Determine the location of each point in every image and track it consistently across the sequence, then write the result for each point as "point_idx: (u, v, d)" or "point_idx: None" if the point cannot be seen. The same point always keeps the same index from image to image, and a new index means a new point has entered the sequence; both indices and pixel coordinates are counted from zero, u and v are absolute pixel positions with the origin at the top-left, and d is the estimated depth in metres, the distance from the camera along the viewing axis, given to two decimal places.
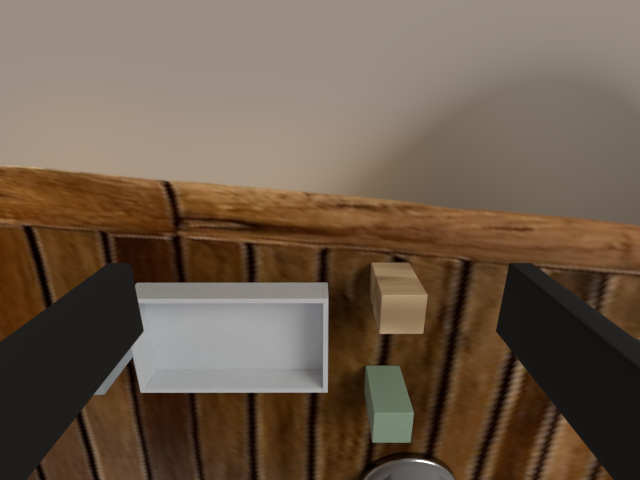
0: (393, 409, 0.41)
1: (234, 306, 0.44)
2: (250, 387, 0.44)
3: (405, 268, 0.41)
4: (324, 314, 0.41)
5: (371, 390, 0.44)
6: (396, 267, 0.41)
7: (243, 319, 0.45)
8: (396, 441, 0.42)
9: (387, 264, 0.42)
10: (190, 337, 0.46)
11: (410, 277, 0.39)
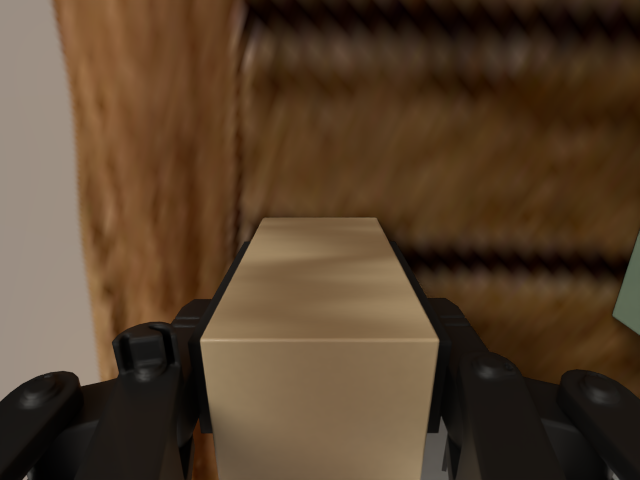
0: None
1: None
2: None
3: None
4: None
5: None
6: None
7: None
8: None
9: None
10: None
11: None
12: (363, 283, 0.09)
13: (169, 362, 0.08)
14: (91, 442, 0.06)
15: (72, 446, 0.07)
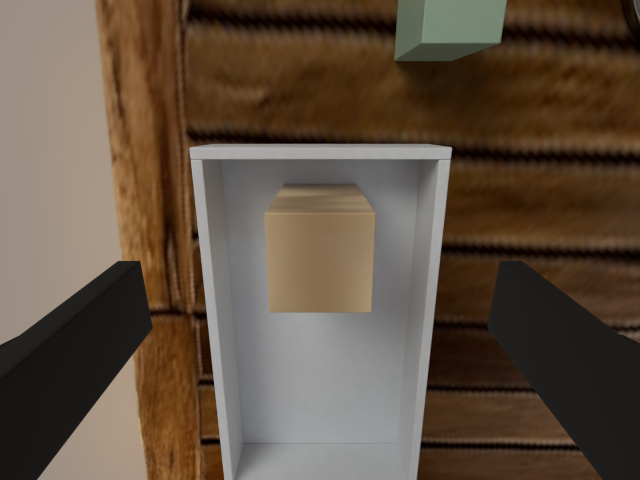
0: None
1: (269, 317, 0.25)
2: (422, 315, 0.21)
3: None
4: (229, 156, 0.18)
5: (407, 49, 0.23)
6: None
7: None
8: None
9: None
10: (333, 388, 0.26)
11: None
12: (343, 201, 0.17)
13: None
14: None
15: None
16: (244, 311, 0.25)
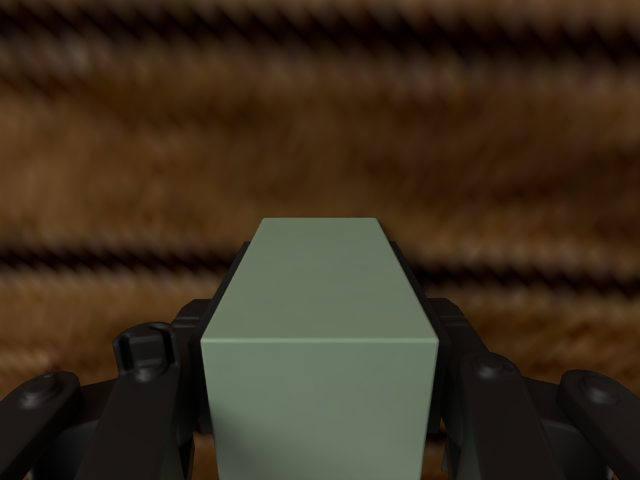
0: None
1: None
2: None
3: None
4: None
5: None
6: None
7: None
8: (422, 408, 0.07)
9: None
10: None
11: None
12: None
13: (169, 362, 0.08)
14: (91, 442, 0.06)
15: (72, 446, 0.07)
16: None
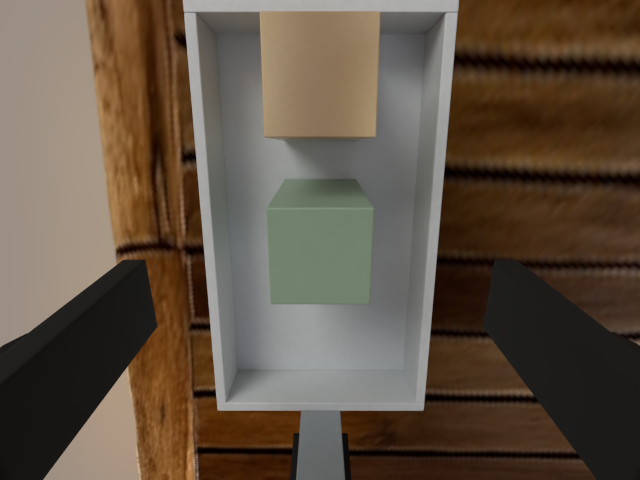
0: None
1: (266, 221, 0.23)
2: (430, 197, 0.20)
3: None
4: (225, 8, 0.17)
5: None
6: None
7: None
8: (368, 245, 0.15)
9: None
10: (334, 305, 0.25)
11: None
12: None
13: None
14: None
15: None
16: (240, 214, 0.23)
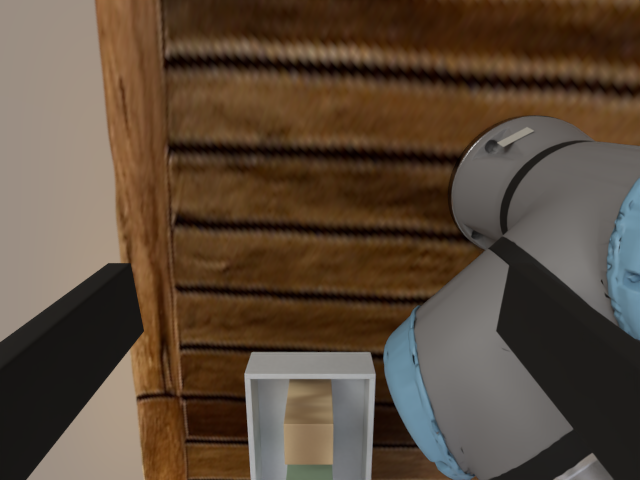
0: None
1: (281, 441, 0.42)
2: (366, 450, 0.39)
3: None
4: (264, 377, 0.36)
5: None
6: None
7: None
8: None
9: None
10: None
11: None
12: (320, 406, 0.34)
13: None
14: None
15: None
16: (267, 438, 0.42)
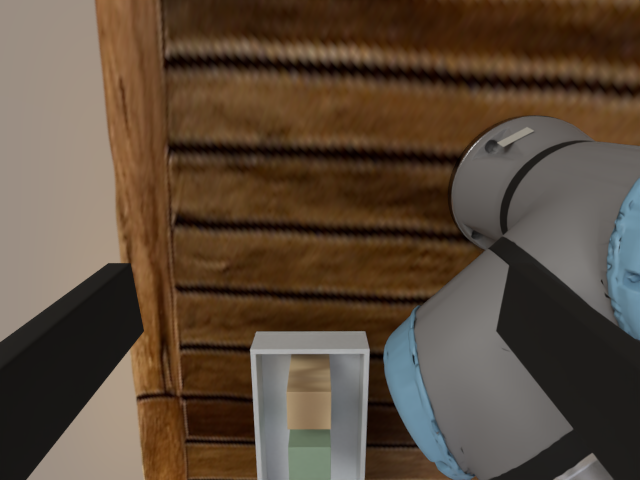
0: None
1: (283, 414, 0.46)
2: (361, 420, 0.42)
3: None
4: (268, 353, 0.40)
5: None
6: None
7: None
8: (329, 460, 0.38)
9: None
10: None
11: None
12: (319, 377, 0.38)
13: None
14: None
15: None
16: (270, 411, 0.46)
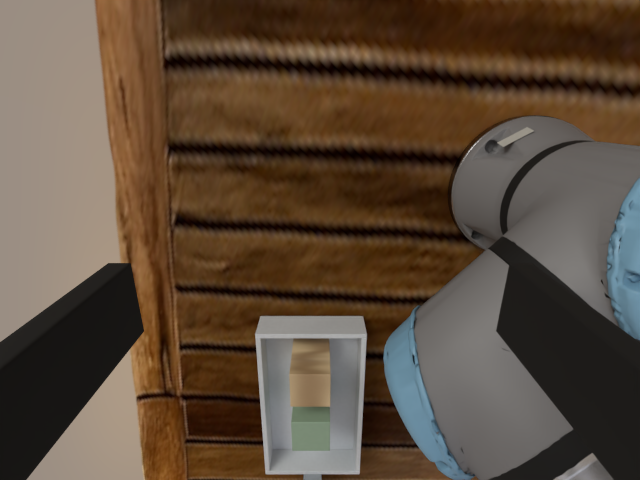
0: None
1: (286, 390, 0.50)
2: (358, 396, 0.46)
3: None
4: (272, 337, 0.42)
5: None
6: None
7: None
8: (328, 433, 0.42)
9: None
10: None
11: None
12: (320, 360, 0.41)
13: None
14: None
15: None
16: (274, 387, 0.49)
